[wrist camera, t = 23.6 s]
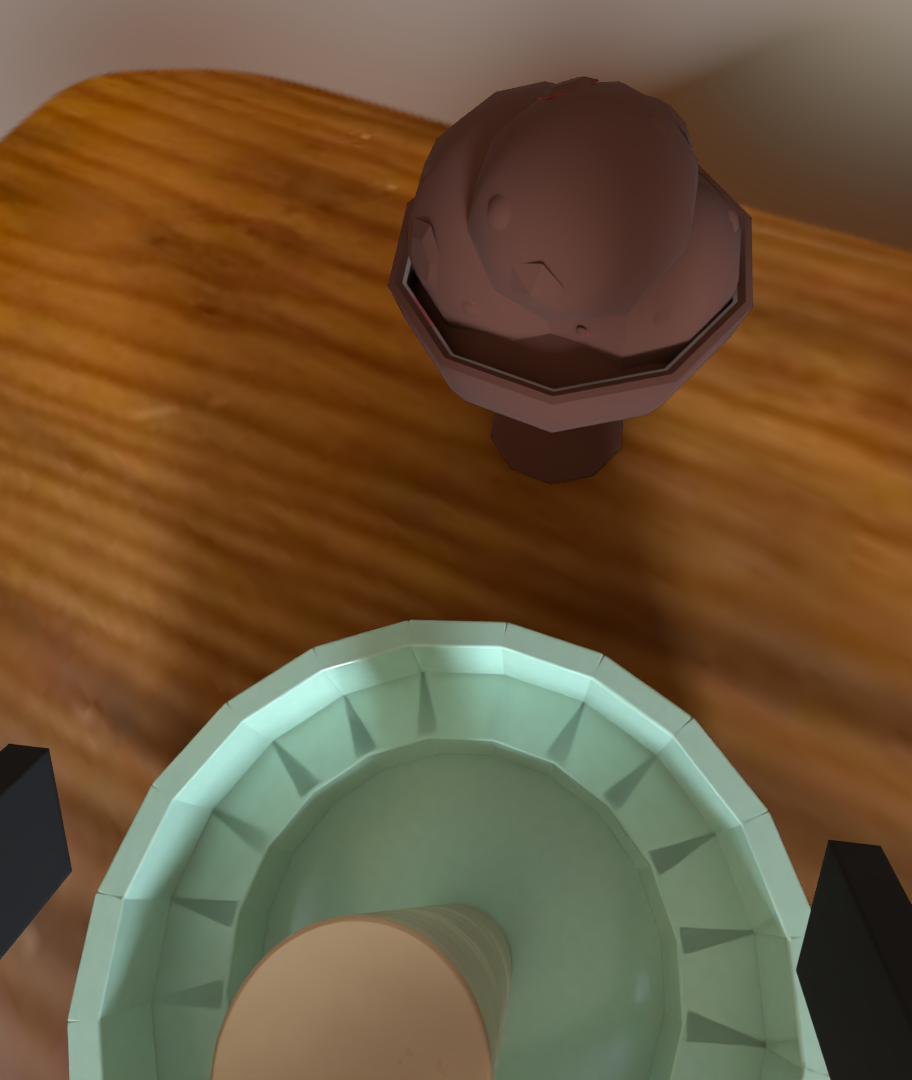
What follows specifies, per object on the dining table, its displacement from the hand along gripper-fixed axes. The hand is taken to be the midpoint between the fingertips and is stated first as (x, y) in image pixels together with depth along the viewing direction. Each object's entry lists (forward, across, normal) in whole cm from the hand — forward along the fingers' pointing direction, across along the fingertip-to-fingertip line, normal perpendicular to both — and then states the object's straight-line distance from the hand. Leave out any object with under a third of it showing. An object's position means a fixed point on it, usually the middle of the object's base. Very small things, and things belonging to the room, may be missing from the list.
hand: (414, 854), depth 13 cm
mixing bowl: (+8, 0, -11) cm, 13 cm away
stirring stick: (+7, 0, -10) cm, 12 cm away
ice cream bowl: (+22, +2, +3) cm, 22 cm away
